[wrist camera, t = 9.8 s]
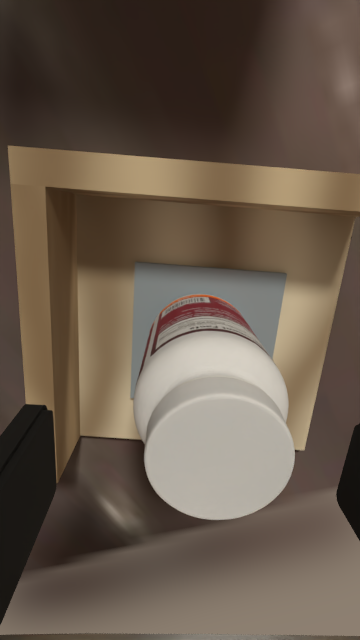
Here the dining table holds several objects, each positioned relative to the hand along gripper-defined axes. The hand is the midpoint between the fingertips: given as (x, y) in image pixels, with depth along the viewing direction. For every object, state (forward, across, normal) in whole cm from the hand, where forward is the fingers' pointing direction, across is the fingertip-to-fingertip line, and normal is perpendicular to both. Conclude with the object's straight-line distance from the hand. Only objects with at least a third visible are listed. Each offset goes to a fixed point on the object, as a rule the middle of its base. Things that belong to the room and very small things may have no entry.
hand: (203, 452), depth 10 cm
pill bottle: (+11, -1, 0) cm, 11 cm away
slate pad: (+11, -1, 0) cm, 11 cm away
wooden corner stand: (+12, 0, 0) cm, 12 cm away
